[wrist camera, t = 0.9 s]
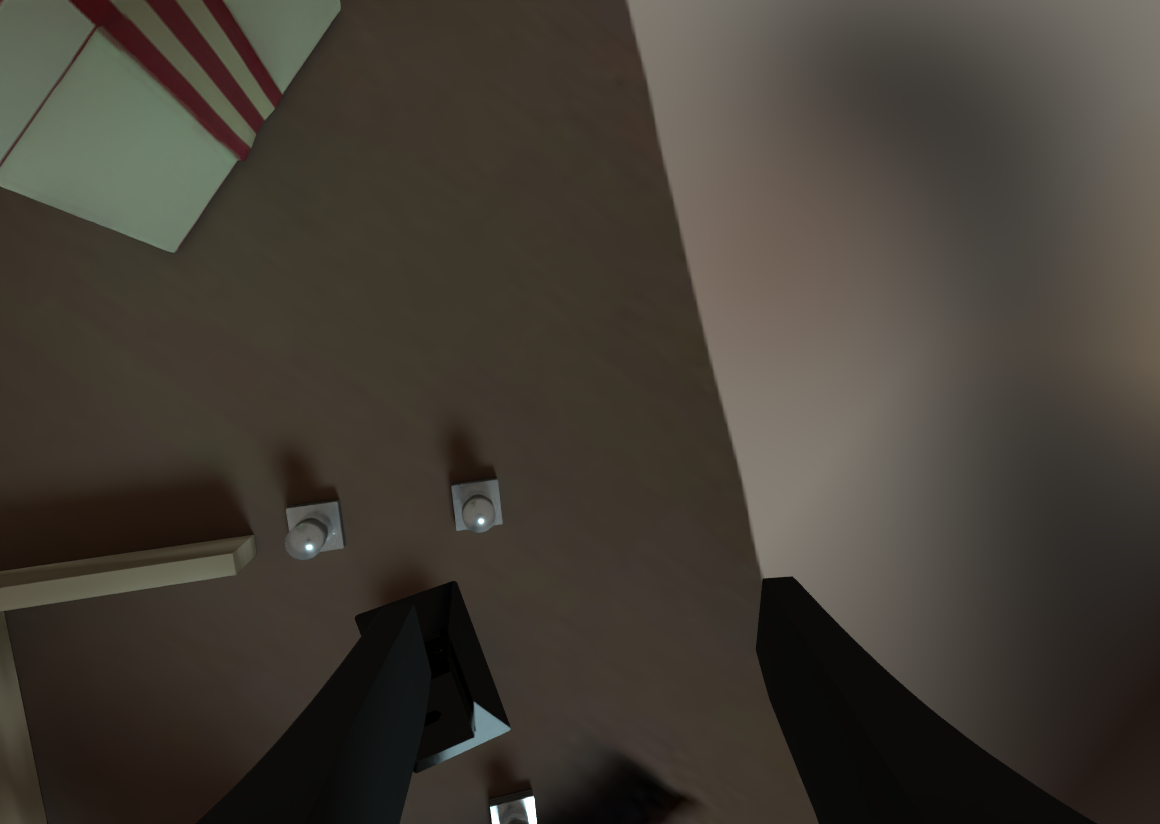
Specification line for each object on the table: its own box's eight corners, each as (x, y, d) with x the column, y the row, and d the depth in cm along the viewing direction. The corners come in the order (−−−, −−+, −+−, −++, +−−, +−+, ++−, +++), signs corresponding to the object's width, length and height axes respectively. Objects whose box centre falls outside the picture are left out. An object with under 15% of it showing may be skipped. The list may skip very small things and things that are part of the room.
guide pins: (536, 827, 34) (544, 871, 31) (344, 876, 32) (334, 928, 29) (496, 477, 32) (501, 488, 29) (288, 505, 30) (271, 521, 27)
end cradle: (305, 865, 32) (291, 916, 29) (44, 930, 29) (-1, 993, 27) (253, 534, 30) (232, 553, 27) (-30, 575, 28) (-87, 600, 25)
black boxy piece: (331, 590, 32) (311, 627, 27) (465, 540, 33) (467, 567, 28) (411, 794, 33) (405, 861, 29) (536, 739, 35) (548, 795, 30)
